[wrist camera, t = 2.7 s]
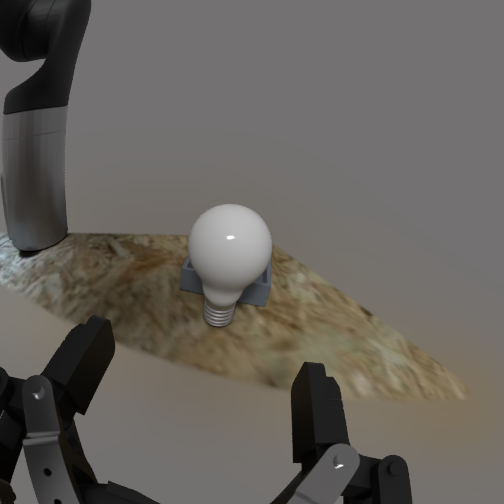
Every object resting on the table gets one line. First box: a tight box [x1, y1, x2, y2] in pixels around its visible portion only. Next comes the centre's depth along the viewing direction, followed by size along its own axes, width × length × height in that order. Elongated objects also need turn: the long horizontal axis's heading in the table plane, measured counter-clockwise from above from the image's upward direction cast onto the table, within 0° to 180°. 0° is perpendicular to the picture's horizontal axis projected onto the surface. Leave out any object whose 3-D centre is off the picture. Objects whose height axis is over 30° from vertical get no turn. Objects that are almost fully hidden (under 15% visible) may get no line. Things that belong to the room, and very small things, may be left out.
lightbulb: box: [188, 204, 272, 326], centre depth 22 cm, size 6×6×11 cm
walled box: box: [180, 255, 271, 307], centre depth 31 cm, size 9×9×3 cm
